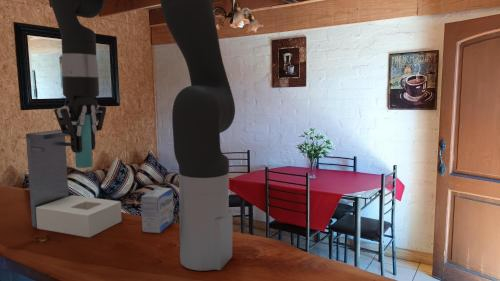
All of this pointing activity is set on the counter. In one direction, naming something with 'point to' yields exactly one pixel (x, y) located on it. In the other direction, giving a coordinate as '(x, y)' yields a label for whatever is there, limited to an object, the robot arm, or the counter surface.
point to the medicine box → (157, 210)
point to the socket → (78, 215)
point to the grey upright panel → (46, 168)
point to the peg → (85, 145)
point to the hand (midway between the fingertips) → (83, 150)
